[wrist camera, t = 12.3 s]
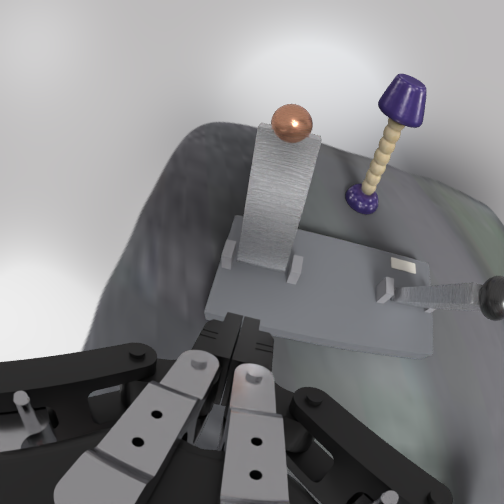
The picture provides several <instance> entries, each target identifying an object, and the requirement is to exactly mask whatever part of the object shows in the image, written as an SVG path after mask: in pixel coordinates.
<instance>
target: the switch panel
mask: <svg viewBox="0 0 504 504" xmlns="http://www.w3.org/2000/svg"><path fill="white" fill-rule="evenodd" d="M243 218H244V216H239V215H235V218H234V221H233V224H232V227H231V230H230V233H229V236H228V239H227V240H226V243H225V246H224V249H223V252H222V255H221V260H220V263H219V266H218V270H217V273H216V276H215V279H214V282H213V285H212V288H211V292H210V295H209V298H208V301H207V304H206V308H205V311H204V313H205V317H206V319H207V320H210V321H211V320H213V319H215V320H219V321H224V319H225V317H226V314H227V312H231V313H235V314H239V315H243V320H244V317H245V316H247V317H251V318H255V319H259V320H260V326H259V330H260V331H264V332H268V333H270V334H271V335H273V336H277V337H282V338H287V339H292V340H297V341H302V342H307V343H312V344H317V345H323V346H328V347H334V348H340V349H346V350H352V351H359V352H365V353H372V354H379V355H387V356H395V357H403V358H412V359H424V358H426V357H429V356H431V355H433V311H434V310H436V309H431V308H422V307H417V306H413V305H408V304H403V303H398V302H393V301H390V298H391V297H392V296H393V295H394V288H399V287H417V286H431V281H430V271H429V263H426V262H423V261H419V260H416V259H412V258H409V257H405V256H401V255H398V254H394V253H390V252H387V251H383V250H379V249H375V248H372V247H368V246H364V245H360V244H356V243H352V242H348V241H345V240H341V239H337V238H333V237H329V236H325V235H321V234H316V233H312V232H308V231H304V230H300V229H297V232H296V236H295V239H294V243H293V246H292V249H291V253H290V256H289V260H288V263H287V266H286V269H285V272H280V271H276V270H271V269H267V268H263V267H259V266H254V265H250V264H246V263H241V262H237V257H238V251H239V244H240V237H241V231H242V224H243ZM243 320H242V324H243ZM242 324H241V327H242Z"/></svg>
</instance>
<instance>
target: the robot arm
mask: <svg viewBox="0 0 504 504" xmlns="http://www.w3.org/2000/svg"><path fill="white" fill-rule="evenodd" d="M242 320H243V315H239V314H235V313H231V312H227V314H226V317H225V319H224V321H219V320H215V319H213V320H211V321H209V322H207V323H206V324H205V326H204V328H203V330H202V331H201V333H200V335H199V337H198V339H197V340H196V342H195V344H194V346H193V348H192V349H191V350H189V351H186V352H184V353H182V354H181V356H180V357H179V358H178V360H165V359H157V354H156V352H155V350H154V349H153V348H151V347H149V346H148V345H145V344H142V343H127V344H122V345H117V346H111V347H106V348H100V349H94V350H89V351H82V352H76V353H71V354H64V355H56V356H49V357H43V358H34V359H26V360H17V361H8V362H0V504H318V503H317V502H316V501H315V500H314V498H313V497H312V496H311V495H310V494H309V493H308V492H307V491H306V490H305V489H304V487H303V486H302V485H301V484H300V483H299V482H297V481H296V480H295V479H294V478H292V477H291V476H290V475H288V474H287V467H288V469H289V470H290V471H291V472H292V473H293V474H294V475H295V476H296V477H297V478H298V479H299V480H300V482H301V483H302V484H303V485H304V486H305V487H306V488H307V489H308V490H309V491H310V492H311V493H312V494H313V495H314V496H315V497H316V498H317V499H318V500H319V501H320V502H321V503H322V504H452V502H453V498H452V494H451V492H450V490H449V489H448V488H447V487H446V486H445V485H444V484H442V483H441V482H439V481H438V480H436V479H435V478H434V477H432V476H431V475H429V474H428V473H427V472H425V471H424V470H422V469H421V468H420V467H418V466H417V465H416V464H414V463H413V462H411V461H410V460H409V459H407V458H406V457H405V456H403V455H402V454H401V453H399V452H398V451H397V450H396V449H394V448H393V447H392V446H390V445H389V444H388V443H386V442H385V441H384V440H383V439H381V438H380V437H379V436H378V435H376V434H375V433H374V432H373V431H371V430H370V429H369V428H368V427H366V426H365V425H364V424H363V423H361V422H360V421H359V420H358V419H356V418H355V417H354V416H353V415H352V414H350V413H349V412H348V411H347V410H346V409H344V408H343V407H342V406H341V405H340V404H338V403H337V402H336V401H335V400H334V399H333V398H331V397H330V396H329V395H328V394H327V393H325V392H324V391H322V390H320V389H317V388H313V387H303V388H300V389H298V390H296V392H295V393H293V392H290V391H288V390H286V389H284V388H282V387H280V386H279V385H278V384H276V383H275V381H274V376H273V374H272V373H271V372H272V359H273V344H274V339H273V338H272V336H271V334H270V333H268V332H264V331H260V330H259V326H260V320H259V319H255V318H251V317H247V316H245V317H244V320H243V324H242ZM241 324H242V327H241ZM240 329H241V330H240ZM239 333H240V334H239ZM226 381H227V382H226ZM225 384H226V387H225ZM116 385H120V390H119V391H115V392H110V393H106V394H102V395H98V396H93V397H89V398H88V396H89V394H90V393H91V392H93V391H95V390H99V389H104V388H108V387H112V386H116ZM224 388H225V391H224ZM223 391H224V395H223V399H222V404H221V405H223V406H226V407H225V411H224V416H223V419H222V424H221V431H220V437H219V444H218V450H204V449H200V448H198V447H196V443H197V441H198V439H199V437H200V435H201V433H202V430H203V428H204V426H205V424H206V422H207V420H208V417H209V413H210V411H211V410H212V407H213V404H214V403H215V404H218V405H219V404H220V401H221V398H222V394H223ZM314 439H316V440H317V441H318V442H320V443H321V444H322V445H323V446H324V447H325V448H326V449H327V450H328V451H329V452H330V453H331V454H332V456H333V458H334V460H333V459H332V458H331V457H330V456H329V455H328V454H327V453H326V452H325V451H324V450H323V449H322V448H321V447H320V446H319V445H317V444H316V443H315V442H314Z"/></svg>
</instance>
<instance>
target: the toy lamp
mask: <svg viewBox="0 0 504 504" xmlns="http://www.w3.org/2000/svg"><path fill="white" fill-rule="evenodd" d="M425 102H426V87H425V85H424V84H423V83H422V82H420V81H419V80H417V79H415V78H413V77H411V76H409V75H406V74H398V75H397V76H396V77H395V78H394V80H393V81H392V82H391V84H390V85H389V86H388V88H387V89H386V91H385V92H384V94H383V95H382V97H381V98H380V100H379V102H378V106H379V108H380V110H381V111H382V112H383V113H384V114H385V115H386V116H388V117H389V119H388V125H387V126H386V127H385V129H384V133H383V135H384V136H383V137H382V138H381V139H380V142H379V148H377V150H376V151H375V154H374V159H373V160H372V161H371V163H370V169H369V170H368V171H367V173H366V179H365V180H364V181H363V183H362V184H355V185H353V186H351V187H350V188H349V189H348V190H347V192H346V201H347V203H348V204H349V205H350V207H351V208H353V209H354V210H355V211H357V212H359V213H362V214H371V213H373V212H375V211H376V209H377V207H378V196H377V194H376V192H375V190H376V185H377V184H378V183H379V181H380V179H381V175H382V174H383V173H384V171H385V168H386V164H387V163H388V162H389V160H390V156H391V153H392V152H393V151H394V149H395V143H396V142H397V141H398V139H399V138H400V134H401V130H402V129H403V128H404V127H405V126H408V127H414V128H417V127H420V126H421V124H422V122H423V116H424V110H425Z"/></svg>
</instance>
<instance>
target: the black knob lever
mask: <svg viewBox="0 0 504 504" xmlns="http://www.w3.org/2000/svg"><path fill="white" fill-rule="evenodd" d="M390 301H393V302H398V303H403V304H408V305H413V306H417V307H422V308H431V309H447V310H464V311H481V312H482V313H483V315H484V316H485V317H486V318H488V319H490V320H494V321H498V320H502V319H504V277H503V276H494V277H492V278H490V279H488V280H487V281H486V282H485V283H484V284H483V285H480V284H477V283H462V284H448V285H434V286H417V287H399V288H394V295H393V296H392V297H391V298H390Z"/></svg>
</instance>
